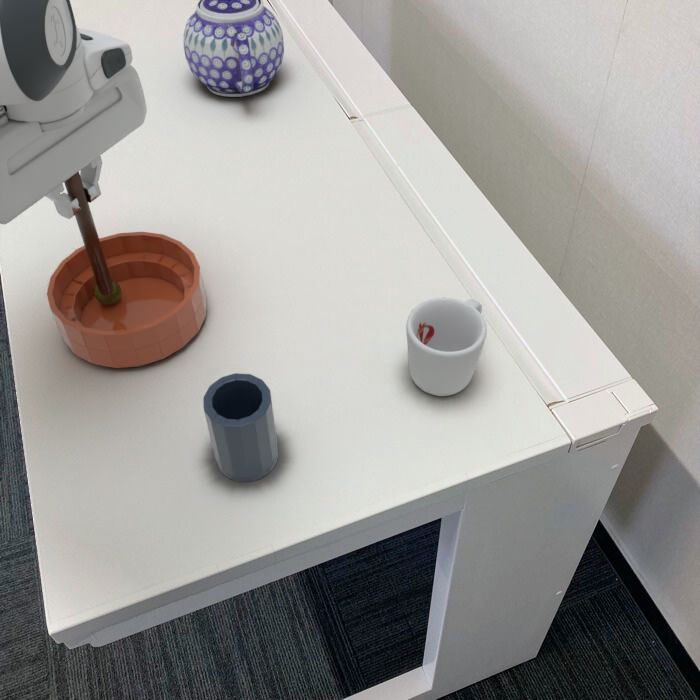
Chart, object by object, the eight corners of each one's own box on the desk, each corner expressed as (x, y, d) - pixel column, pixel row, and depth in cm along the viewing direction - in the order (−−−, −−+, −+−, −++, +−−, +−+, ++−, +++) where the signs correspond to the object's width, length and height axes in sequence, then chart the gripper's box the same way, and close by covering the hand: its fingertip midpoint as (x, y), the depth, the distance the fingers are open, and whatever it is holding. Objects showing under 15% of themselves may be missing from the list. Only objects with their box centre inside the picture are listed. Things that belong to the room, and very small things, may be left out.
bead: (111, 313, 87) (105, 292, 85) (92, 305, 88) (85, 285, 86) (129, 299, 89) (123, 278, 87) (110, 291, 90) (104, 271, 88)
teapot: (298, 117, 116) (292, 19, 105) (196, 129, 114) (179, 30, 103) (274, 39, 133) (267, -53, 121) (184, 49, 131) (169, -44, 119)
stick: (108, 300, 85) (58, 142, 71) (97, 296, 86) (46, 137, 71) (118, 292, 86) (71, 134, 72) (107, 287, 87) (58, 129, 72)
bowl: (144, 394, 81) (131, 356, 76) (32, 337, 86) (14, 298, 82) (235, 300, 90) (229, 261, 86) (129, 254, 96) (118, 215, 91)
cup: (441, 323, 87) (447, 270, 81) (503, 354, 84) (515, 301, 78) (388, 383, 82) (390, 331, 76) (453, 418, 78) (461, 367, 72)
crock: (255, 492, 73) (245, 437, 66) (203, 465, 75) (189, 408, 68) (290, 447, 76) (284, 389, 69) (240, 421, 78) (229, 364, 72)
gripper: (-31, 147, 60) (26, 277, 70) (142, 37, 72) (169, 163, 82) (-86, 125, 62) (-23, 254, 72) (91, 21, 74) (124, 146, 84)
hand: (80, 205), depth 77 cm, fingers closed on stick, 1 cm apart
